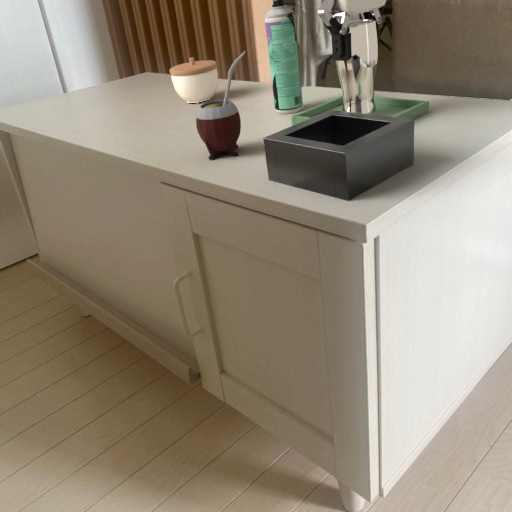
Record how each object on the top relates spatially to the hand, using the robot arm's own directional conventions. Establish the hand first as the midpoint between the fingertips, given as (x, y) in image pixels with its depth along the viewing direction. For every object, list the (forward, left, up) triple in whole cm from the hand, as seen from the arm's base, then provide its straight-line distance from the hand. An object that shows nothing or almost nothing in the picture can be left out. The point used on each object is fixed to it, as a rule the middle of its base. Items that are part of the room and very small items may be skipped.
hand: (356, 54), depth 89 cm
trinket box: (+45, +1, -11) cm, 46 cm away
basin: (-13, +21, -11) cm, 27 cm away
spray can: (+17, 0, -11) cm, 20 cm away
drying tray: (0, 0, -11) cm, 11 cm away
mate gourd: (+9, +23, -11) cm, 27 cm away
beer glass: (0, 0, -10) cm, 10 cm away
